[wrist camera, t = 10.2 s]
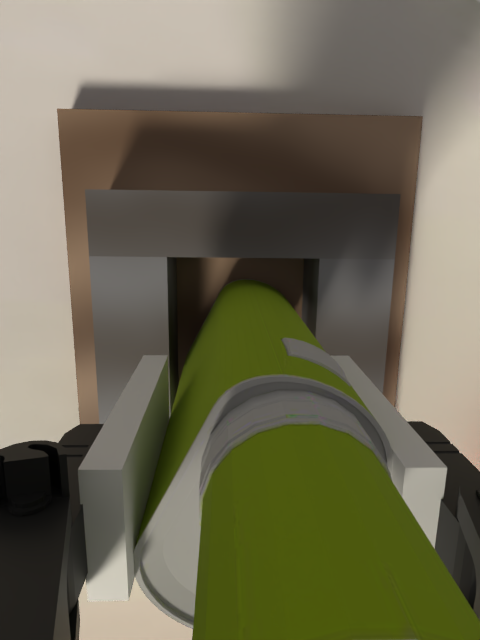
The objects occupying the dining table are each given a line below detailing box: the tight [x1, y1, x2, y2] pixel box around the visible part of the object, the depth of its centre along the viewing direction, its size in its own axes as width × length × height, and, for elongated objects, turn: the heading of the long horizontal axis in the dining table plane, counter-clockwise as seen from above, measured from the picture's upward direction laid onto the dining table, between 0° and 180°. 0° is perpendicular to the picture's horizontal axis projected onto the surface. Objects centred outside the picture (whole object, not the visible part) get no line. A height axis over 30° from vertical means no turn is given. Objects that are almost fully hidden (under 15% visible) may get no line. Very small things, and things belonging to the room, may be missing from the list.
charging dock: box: [57, 109, 423, 424], centre depth 21 cm, size 20×16×5 cm
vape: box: [133, 279, 480, 640], centre depth 11 cm, size 4×6×20 cm, turn 151°
